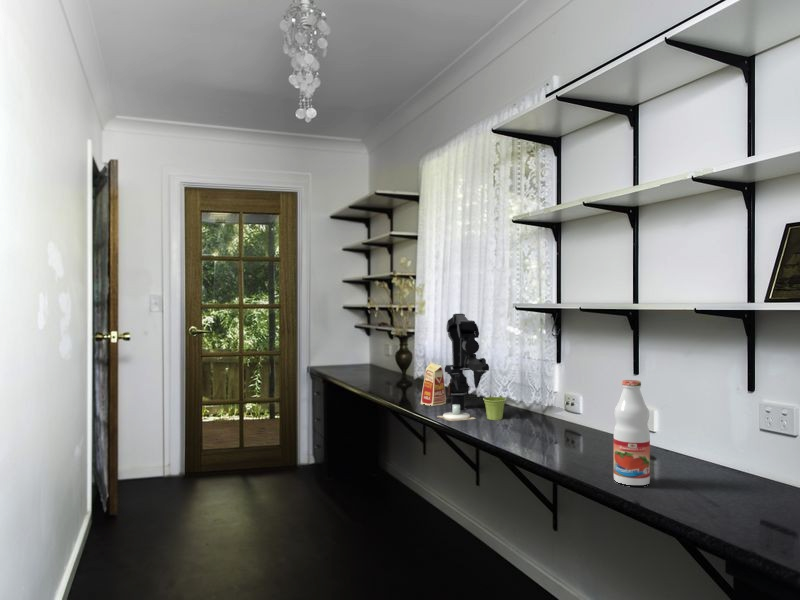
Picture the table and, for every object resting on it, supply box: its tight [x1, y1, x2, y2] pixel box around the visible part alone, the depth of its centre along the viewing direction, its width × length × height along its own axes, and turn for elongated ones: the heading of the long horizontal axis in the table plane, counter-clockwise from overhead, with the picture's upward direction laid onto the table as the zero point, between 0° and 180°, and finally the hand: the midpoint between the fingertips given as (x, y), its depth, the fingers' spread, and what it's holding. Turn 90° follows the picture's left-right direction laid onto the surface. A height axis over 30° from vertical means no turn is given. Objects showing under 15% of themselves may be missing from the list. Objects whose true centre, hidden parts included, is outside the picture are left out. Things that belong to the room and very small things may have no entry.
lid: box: [442, 404, 471, 421], centre depth 264 cm, size 11×11×5 cm
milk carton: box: [420, 361, 447, 407], centre depth 299 cm, size 9×9×20 cm
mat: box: [436, 414, 477, 422], centre depth 264 cm, size 12×12×1 cm
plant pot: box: [483, 396, 507, 421], centre depth 261 cm, size 9×9×9 cm
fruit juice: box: [613, 379, 651, 485], centre depth 174 cm, size 9×9×28 cm
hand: (467, 388), depth 262 cm, fingers open, 9 cm apart
